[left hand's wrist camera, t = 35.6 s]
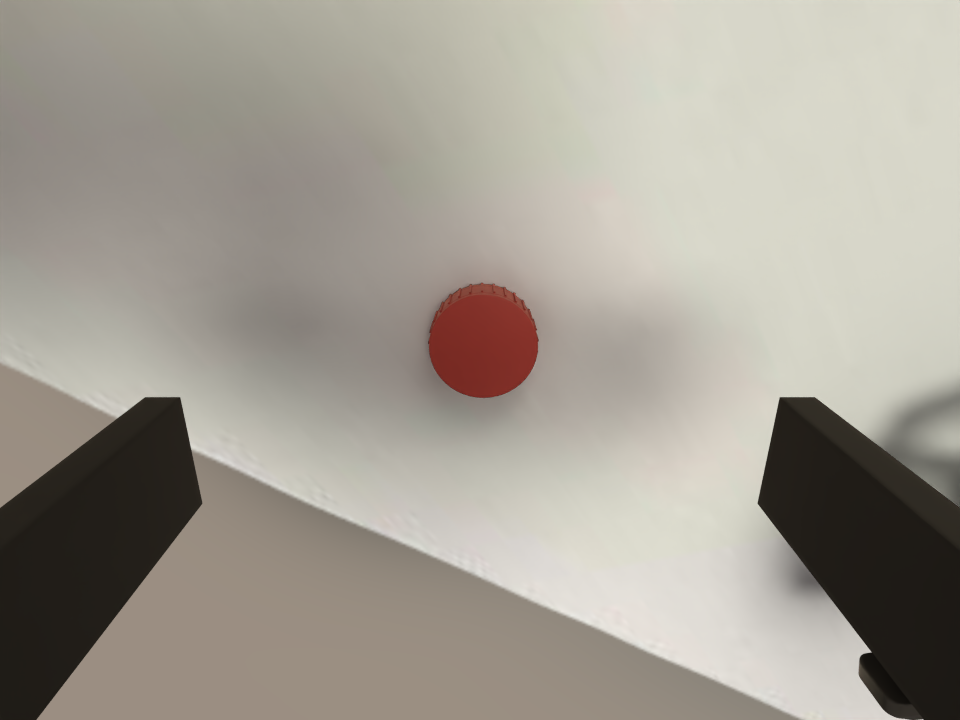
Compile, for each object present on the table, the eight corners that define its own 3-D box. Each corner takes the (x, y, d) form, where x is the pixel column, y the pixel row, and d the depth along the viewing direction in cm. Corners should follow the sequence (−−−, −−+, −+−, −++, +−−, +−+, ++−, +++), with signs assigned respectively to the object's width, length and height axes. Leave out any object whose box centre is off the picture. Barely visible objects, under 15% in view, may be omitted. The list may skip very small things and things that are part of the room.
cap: (501, 398, 24) (503, 417, 22) (413, 351, 23) (407, 367, 22) (554, 315, 23) (560, 328, 21) (463, 262, 22) (461, 272, 20)
